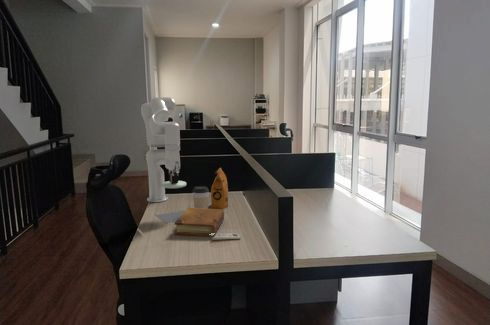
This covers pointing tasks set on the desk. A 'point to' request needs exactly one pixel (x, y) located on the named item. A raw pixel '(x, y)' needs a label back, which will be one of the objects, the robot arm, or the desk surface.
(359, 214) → the desk surface
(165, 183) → the lid
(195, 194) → the coffee cup
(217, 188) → the coffee package
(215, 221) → the diary
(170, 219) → the mat
